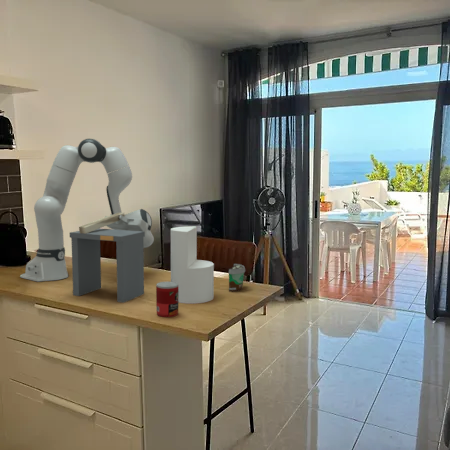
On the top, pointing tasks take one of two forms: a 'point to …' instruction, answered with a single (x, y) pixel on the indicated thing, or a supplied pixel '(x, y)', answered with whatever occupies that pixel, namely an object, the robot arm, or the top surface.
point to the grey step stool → (91, 262)
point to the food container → (236, 278)
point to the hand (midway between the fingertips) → (115, 216)
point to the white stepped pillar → (190, 267)
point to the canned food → (167, 299)
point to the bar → (100, 223)
